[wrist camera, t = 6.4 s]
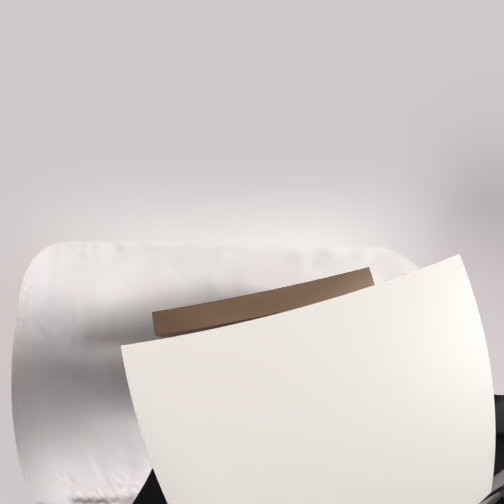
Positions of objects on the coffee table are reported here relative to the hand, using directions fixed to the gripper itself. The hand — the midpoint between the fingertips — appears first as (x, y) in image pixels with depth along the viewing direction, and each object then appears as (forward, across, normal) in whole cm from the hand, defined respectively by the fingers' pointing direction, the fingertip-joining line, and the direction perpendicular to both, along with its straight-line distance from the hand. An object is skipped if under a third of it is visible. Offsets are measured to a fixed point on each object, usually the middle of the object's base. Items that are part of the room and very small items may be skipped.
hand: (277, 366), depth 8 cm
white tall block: (+4, 0, +6) cm, 7 cm away
